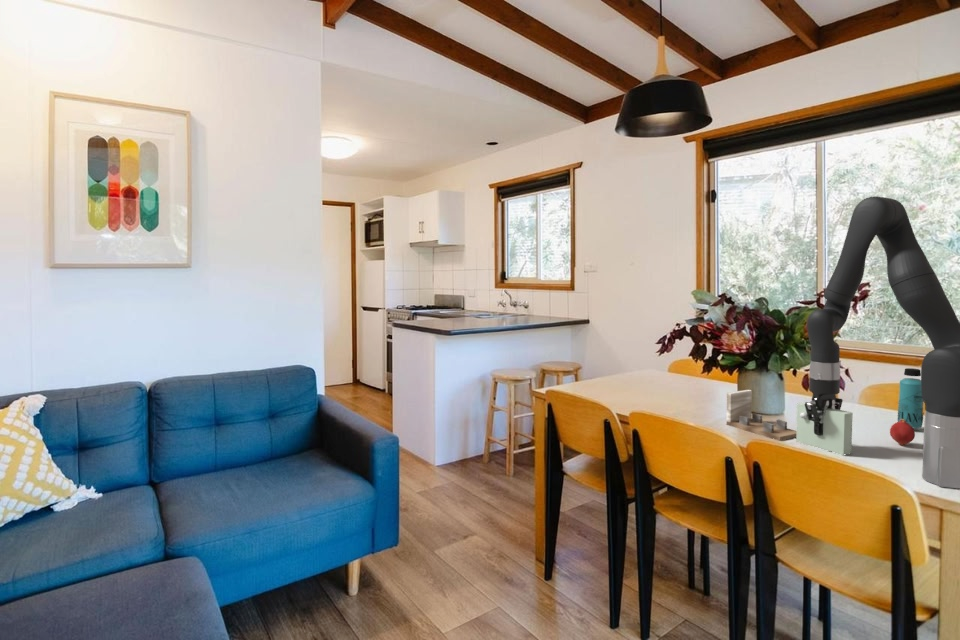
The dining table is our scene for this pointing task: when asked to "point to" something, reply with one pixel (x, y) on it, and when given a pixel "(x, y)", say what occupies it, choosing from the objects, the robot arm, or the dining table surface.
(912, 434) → the onion
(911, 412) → the beverage bottle
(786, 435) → the cabinet frame
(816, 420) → the robot arm
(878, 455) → the dining table surface
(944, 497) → the dining table surface
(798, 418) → the door
